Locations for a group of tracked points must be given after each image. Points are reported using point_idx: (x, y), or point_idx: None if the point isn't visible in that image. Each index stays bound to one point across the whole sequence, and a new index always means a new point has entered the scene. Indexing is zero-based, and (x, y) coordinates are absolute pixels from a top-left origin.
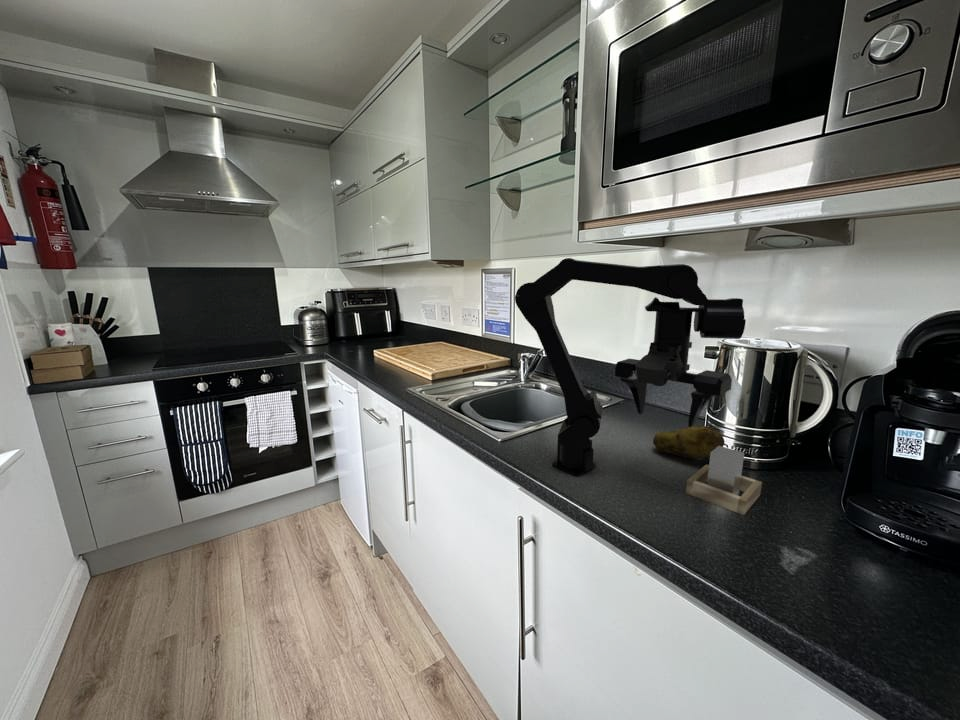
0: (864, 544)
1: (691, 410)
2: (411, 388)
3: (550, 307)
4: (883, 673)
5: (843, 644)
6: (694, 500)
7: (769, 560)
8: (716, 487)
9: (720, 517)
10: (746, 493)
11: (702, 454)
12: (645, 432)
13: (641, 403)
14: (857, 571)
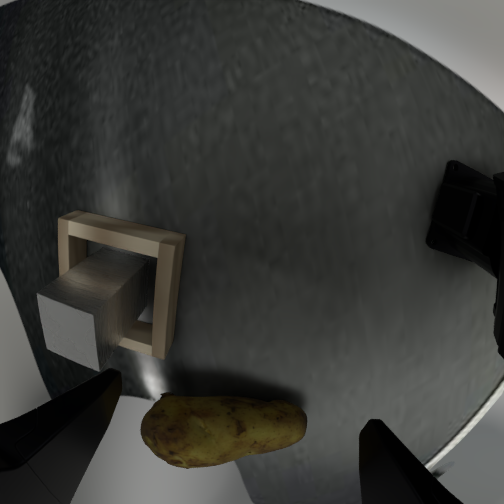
0: None
1: (58, 422)
2: None
3: None
4: (2, 12)
5: (14, 15)
6: (161, 210)
7: (43, 91)
8: (119, 263)
9: (106, 170)
10: (65, 257)
11: (183, 396)
12: (329, 453)
13: (380, 467)
14: None
